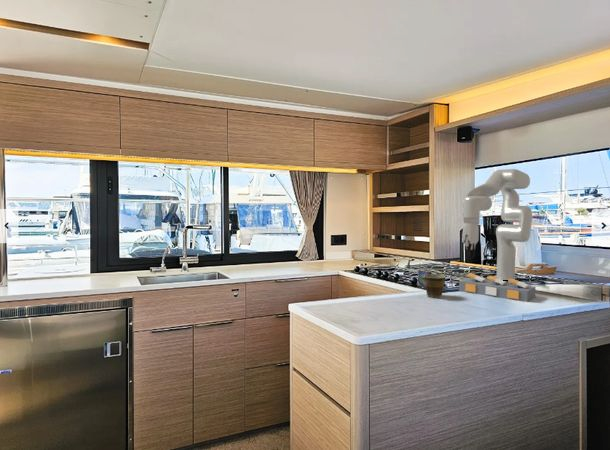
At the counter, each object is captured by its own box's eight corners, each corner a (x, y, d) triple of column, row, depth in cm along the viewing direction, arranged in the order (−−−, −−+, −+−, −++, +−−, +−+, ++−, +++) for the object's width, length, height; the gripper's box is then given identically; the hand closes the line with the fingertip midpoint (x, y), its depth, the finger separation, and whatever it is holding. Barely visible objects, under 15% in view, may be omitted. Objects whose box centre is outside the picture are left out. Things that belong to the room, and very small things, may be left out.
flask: (416, 285, 227) (416, 266, 226) (420, 285, 228) (420, 265, 228) (428, 289, 219) (429, 268, 218) (433, 288, 220) (433, 268, 219)
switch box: (468, 286, 223) (469, 275, 223) (535, 297, 201) (535, 283, 201) (458, 291, 214) (458, 278, 214) (526, 302, 192) (527, 288, 192)
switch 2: (489, 278, 212) (490, 275, 211) (505, 284, 206) (506, 281, 206) (486, 279, 209) (487, 276, 208) (502, 286, 204) (503, 283, 203)
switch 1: (469, 275, 219) (470, 272, 218) (484, 281, 213) (485, 278, 213) (466, 276, 216) (467, 274, 215) (481, 283, 210) (482, 280, 210)
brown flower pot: (442, 294, 208) (442, 274, 207) (447, 299, 198) (447, 278, 197) (415, 293, 209) (415, 273, 209) (419, 298, 200) (419, 277, 199)
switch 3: (510, 281, 205) (511, 278, 204) (527, 287, 199) (528, 284, 199) (507, 282, 202) (508, 279, 201) (524, 289, 197) (525, 286, 196)
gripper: (470, 220, 222) (469, 254, 224) (457, 221, 211) (456, 258, 213) (484, 220, 217) (483, 256, 219) (472, 222, 206) (471, 259, 207)
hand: (470, 256), depth 216 cm, fingers closed
